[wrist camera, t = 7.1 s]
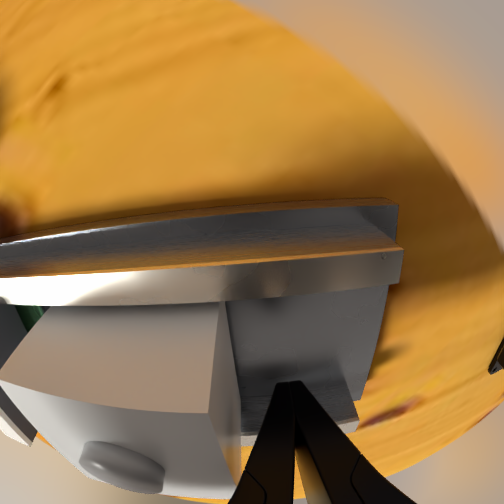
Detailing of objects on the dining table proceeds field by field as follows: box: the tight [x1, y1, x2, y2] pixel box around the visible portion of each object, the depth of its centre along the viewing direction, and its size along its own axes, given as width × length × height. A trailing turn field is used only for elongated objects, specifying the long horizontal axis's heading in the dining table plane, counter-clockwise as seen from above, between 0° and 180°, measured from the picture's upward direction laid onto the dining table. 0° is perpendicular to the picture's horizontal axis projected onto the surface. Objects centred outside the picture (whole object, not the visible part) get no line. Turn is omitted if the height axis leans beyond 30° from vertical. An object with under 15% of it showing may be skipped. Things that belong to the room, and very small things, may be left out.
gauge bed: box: [0, 198, 404, 446], centre depth 9 cm, size 24×10×6 cm, turn 94°
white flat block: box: [0, 304, 37, 447], centre depth 8 cm, size 2×6×4 cm, turn 4°
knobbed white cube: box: [0, 301, 241, 499], centre depth 8 cm, size 6×6×5 cm
